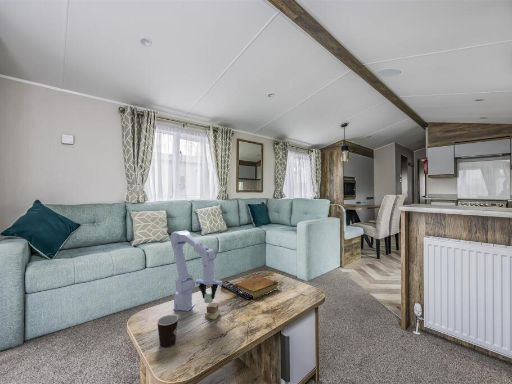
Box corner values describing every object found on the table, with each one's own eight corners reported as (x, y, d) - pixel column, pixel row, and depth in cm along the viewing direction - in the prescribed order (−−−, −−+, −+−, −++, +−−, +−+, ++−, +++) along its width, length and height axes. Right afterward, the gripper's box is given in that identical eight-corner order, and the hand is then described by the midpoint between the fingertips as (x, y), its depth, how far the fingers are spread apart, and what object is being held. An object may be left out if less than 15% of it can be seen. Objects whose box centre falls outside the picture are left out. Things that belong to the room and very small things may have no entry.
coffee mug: (165, 351, 97) (165, 327, 97) (152, 345, 102) (152, 321, 102) (187, 337, 107) (187, 315, 107) (174, 332, 112) (175, 310, 112)
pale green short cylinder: (202, 302, 124) (202, 294, 124) (206, 299, 128) (206, 291, 128) (210, 303, 123) (210, 295, 123) (214, 299, 127) (214, 292, 127)
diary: (259, 283, 176) (259, 275, 176) (278, 290, 162) (278, 282, 163) (235, 291, 160) (235, 283, 160) (253, 300, 146) (253, 290, 147)
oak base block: (204, 318, 125) (204, 312, 125) (209, 313, 131) (209, 307, 131) (215, 319, 123) (215, 313, 124) (219, 314, 129) (219, 308, 129)
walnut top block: (206, 312, 125) (206, 306, 125) (209, 308, 130) (209, 302, 130) (215, 313, 124) (215, 307, 124) (218, 308, 129) (218, 303, 129)
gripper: (192, 274, 124) (192, 300, 123) (218, 275, 121) (219, 302, 120) (198, 269, 131) (198, 294, 130) (223, 271, 128) (223, 296, 127)
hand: (208, 298), depth 126 cm, fingers closed on pale green short cylinder, 4 cm apart
